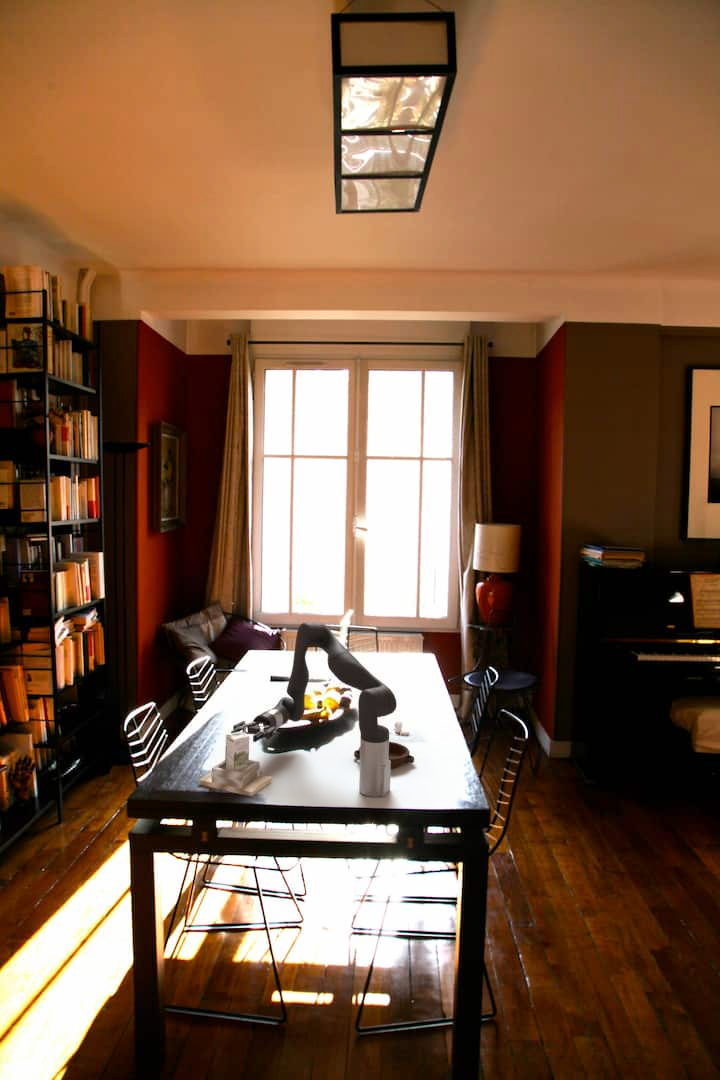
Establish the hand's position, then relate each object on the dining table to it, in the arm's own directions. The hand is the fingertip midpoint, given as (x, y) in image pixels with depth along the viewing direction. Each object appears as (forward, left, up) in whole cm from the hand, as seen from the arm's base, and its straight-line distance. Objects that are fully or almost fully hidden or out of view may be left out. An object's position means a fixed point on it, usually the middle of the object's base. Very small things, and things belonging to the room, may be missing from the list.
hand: (242, 736), depth 199 cm
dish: (-38, -33, -14) cm, 53 cm away
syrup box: (0, +4, -13) cm, 13 cm away
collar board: (0, +4, -14) cm, 15 cm away
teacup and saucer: (-33, -62, -15) cm, 72 cm away
